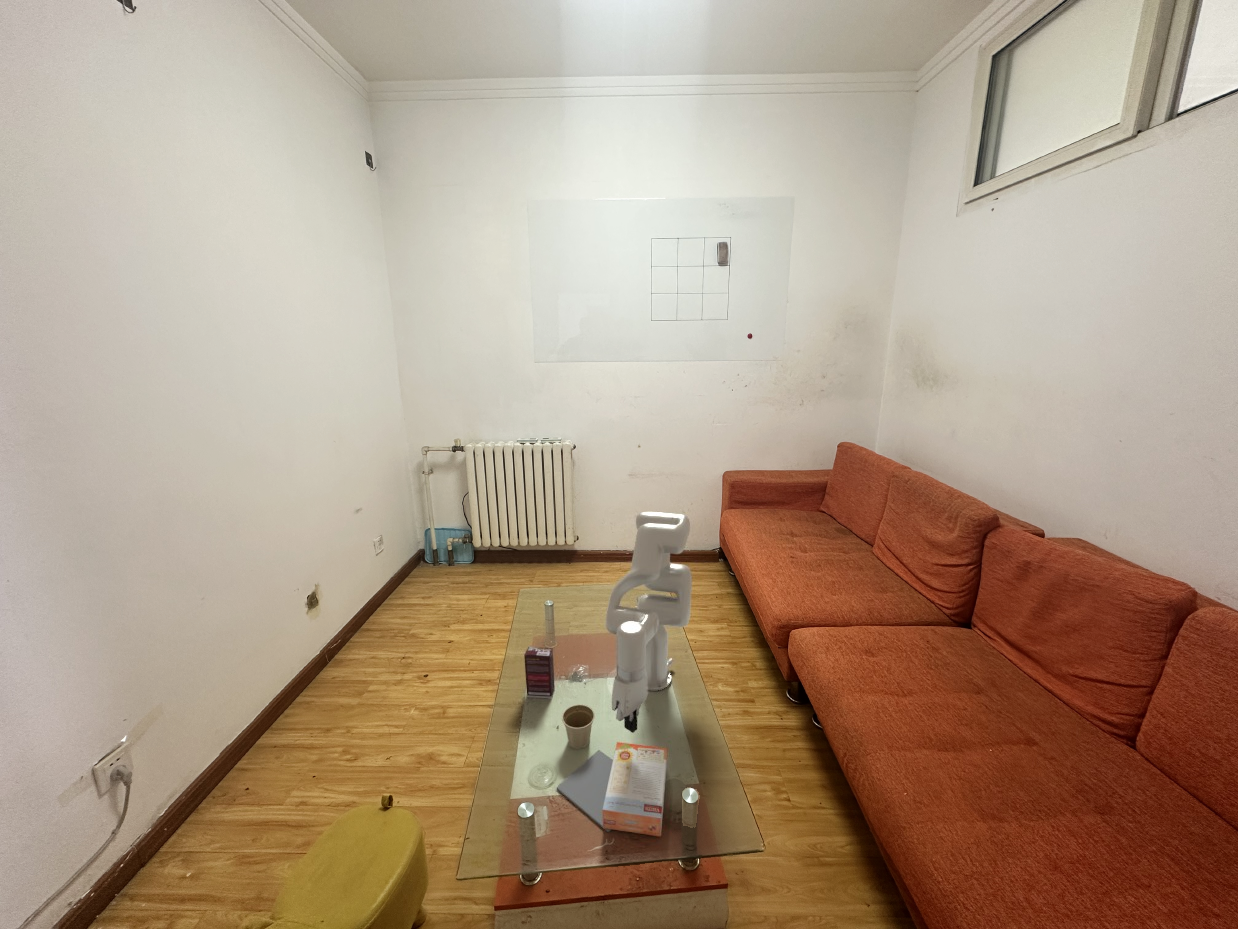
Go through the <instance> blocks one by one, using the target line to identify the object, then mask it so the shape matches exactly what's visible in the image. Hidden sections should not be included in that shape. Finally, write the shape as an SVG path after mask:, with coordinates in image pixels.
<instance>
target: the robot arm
mask: <svg viewBox="0 0 1238 929" xmlns="http://www.w3.org/2000/svg"><path fill="white" fill-rule="evenodd" d="M635 526H636V529H637V531H636V536H635V542H634V547H633V553H632V559H631V564H630V565H631V567H630V570H629V572H627V573H626V574H625V575H624V576H622V577H621V578H620V579H619V580H618V581H617V583H616V584H615V585H614V586H613V588H612V590H611V592H610V596H609V598H608V599H609V600H608V603H607V609H606V614H605V628H606V630H607V631H608V632H609V633H610V634H611V635H616V676H615V677H614V680H613V685H612V686H613V687H612V694H611V710H612V711H614V712H615V711H616V714H615V719H616V720H617V721H619V722H621V721H622V722H623V723H624V724H623V726H624V728H625V729H626V730H627V731H629V732H630V733H632V734H634V733H635V732H637V730H638V716H639V715H640V708H641V705H643V704H644V702H646V701H647V699H648V692H649V691H651V692H658V690H659V691H662V689H663V690H664V688H665V687H667V686H668V685H669V684H670V685H671V683H670V682H672V675H670V674H671V672H670V671H669V668H670V666H672V664H674V659H673V658H672V657H670V658H668V650H669V641H668V639H669V634H668V630H667V628H666V626H667V627H675V628H684V627H687V626H688V624H689V622H690V618H691V609H692V608H691V607H692V606H691V604H692V603H691V602H692V586H693V585H692V582H693V581H692V578H693V577H692V570H691V569H690V567H689V566H688V565H686V564H682V563H673V562H671V560H670V559H671V554H674V555H679V554H681V553H683V551H684V550H685V548H686V544H687V542H688V538H689V535H690V530H691V522H690V519H689V517H688V516H687V515H685V514H683V513H682V514H681V513H673V512H672V513H669V512H659V511H642V512H640V513H638V514H637V515H636V518H635ZM642 585H643V586H644V587H645V588H646V589H648V590H650V591H655V592H660V593H661V592H663V593H670V594H675V595H676V596H674V595H666V594H659V593H646V594H643V595H641V596H640V597H639V599H638V600H637V605H636V607H631V606H630V607H629V606H624V605H623V606H621V605H620V604H621V601H622V599H623V597H624V596H625V595H626V593H628V592H629V591H631V590H633V589H634V588H637V587H641V586H642ZM668 678H670V679H668ZM670 685H669V686H670ZM669 686H668V687H669ZM668 687H667V688H668ZM665 689H666V688H665Z"/></svg>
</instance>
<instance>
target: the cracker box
mask: <svg viewBox="0 0 1238 929" xmlns="http://www.w3.org/2000/svg"><path fill="white" fill-rule="evenodd" d="M614 749H615V751H614V755H613V758H612V760H613V763H612V768H611V772H610V777H609V782H608V786H607V791H606V796H605V800H604V805H603V809H602V811H603V828H607V829H611V830H616V831H621V832H628V833H633V834H634V833H635V834H640V835H642V834H643V835H646V836H647V835H648V836H654V837H661V836H662V825H663V817H664V816H663V813H664V802H665V791H666V778H667V777H666V776H667V765H668V764H667V763H668V761H667V760H668V748H667V747H662V746H661V747H660V746H652V745H646V744H645V745H643V744H636V743H635V744H634V743H628V742H620V741H618V742H616V745H615V748H614ZM603 828H602V829H603Z"/></svg>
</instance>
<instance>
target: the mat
mask: <svg viewBox="0 0 1238 929" xmlns="http://www.w3.org/2000/svg"><path fill="white" fill-rule="evenodd" d="M612 763H613V758H611V757H609V756H608V755H607V754H605V753H604V752H603V751H601V750H600V749H598V750H596V752H594V753H593V754H592V755H591V756H590V757H588V759H586V760H585V761H584V762H583V763H582V764H581V765H580V766H579V767H578V768H577V769H576V770H574V771H573V772H572V773H571V774H570V775H569V776H567V778H565V779H564V780H563V781H562V782H561V783H560V784H558V785H557V787H556V790H557V791H558V792H559V793H561V794H562V795H563V796H564V797H565V798H567V799H568V800H569V801H570V802H571V803H573V804H574V805H575V806H576V807H577V808H579V810H581V811H582V812H583V813H585V814H586V815H587V816H588V817H589V818H590V819H591V820H592V821H594V822H595V823H596V824H598V826H600V827H601V828H602V829H604V831H606V832H607V833H610V832H611V830H612V829H607V828H603V811H602V809H603V805H604V800H605V796H606V791H607V786H608V782H609V777H610V772H611V768H612Z"/></svg>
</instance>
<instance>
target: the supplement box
mask: <svg viewBox="0 0 1238 929" xmlns="http://www.w3.org/2000/svg"><path fill="white" fill-rule="evenodd" d="M553 649H554V648H553V647H539V646H527V648H526V650H525V652H524V654H523V655H524V656H523V657H524V672H525V684H526V686H525V689H526V697H527V698H532V699H534V698H536V699H553V697H554V692H555V689H556V688H555V668H554V665H555V664H554V650H553Z"/></svg>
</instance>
